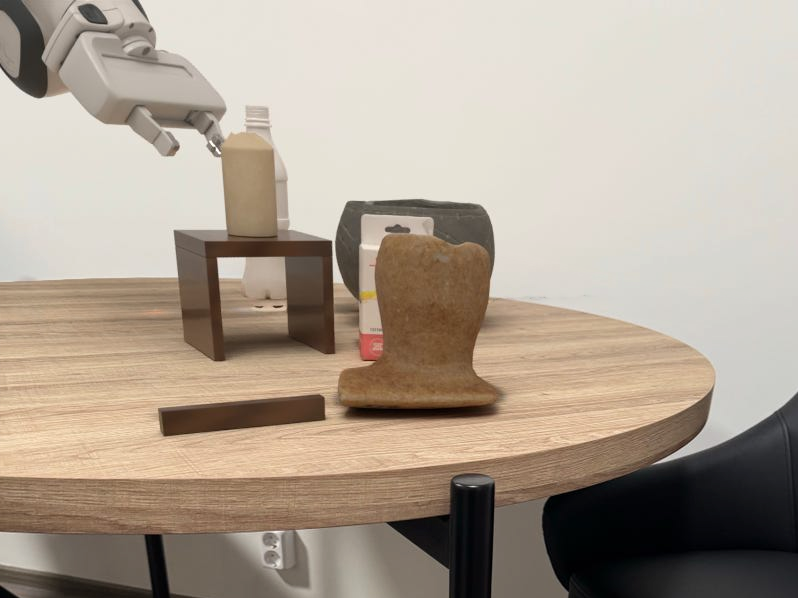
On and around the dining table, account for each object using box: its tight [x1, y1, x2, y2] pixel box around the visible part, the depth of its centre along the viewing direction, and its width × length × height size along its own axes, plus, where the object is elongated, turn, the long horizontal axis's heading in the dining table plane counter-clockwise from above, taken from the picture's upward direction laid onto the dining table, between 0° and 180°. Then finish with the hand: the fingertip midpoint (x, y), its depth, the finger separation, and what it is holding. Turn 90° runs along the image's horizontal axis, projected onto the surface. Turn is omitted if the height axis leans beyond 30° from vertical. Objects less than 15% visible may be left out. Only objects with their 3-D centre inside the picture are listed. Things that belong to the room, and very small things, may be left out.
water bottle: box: [240, 105, 291, 309], centre depth 129 cm, size 7×7×25 cm
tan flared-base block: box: [337, 233, 500, 410], centre depth 86 cm, size 15×12×15 cm
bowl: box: [334, 198, 496, 302], centre depth 124 cm, size 21×21×15 cm
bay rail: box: [157, 393, 326, 436], centre depth 79 cm, size 14×1×2 cm, turn 121°
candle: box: [220, 131, 278, 237], centre depth 101 cm, size 6×6×10 cm
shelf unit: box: [173, 229, 336, 362], centre depth 106 cm, size 14×12×12 cm
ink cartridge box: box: [358, 214, 434, 361], centre depth 104 cm, size 9×5×15 cm, turn 100°
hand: (199, 152), depth 101 cm, fingers open, 8 cm apart
